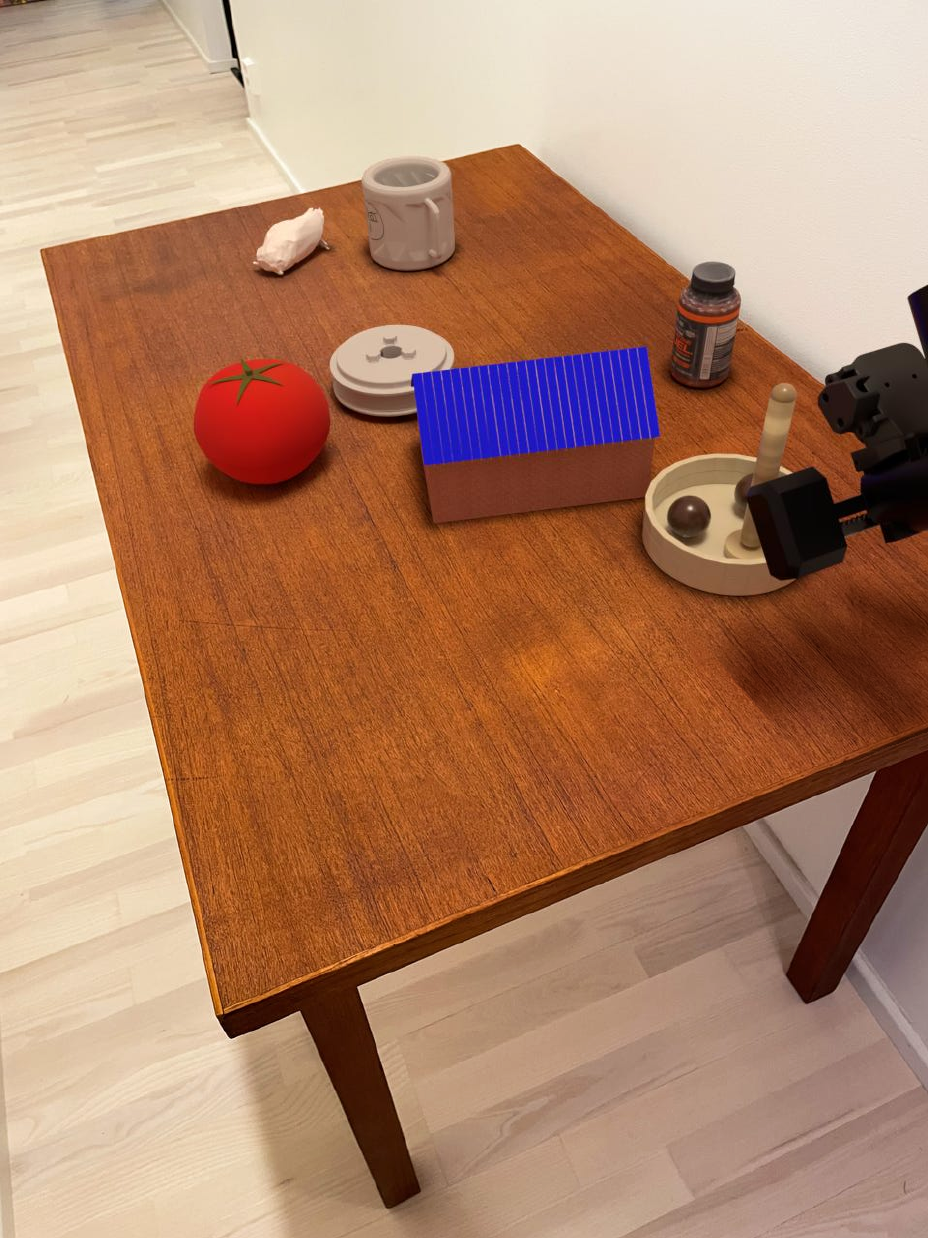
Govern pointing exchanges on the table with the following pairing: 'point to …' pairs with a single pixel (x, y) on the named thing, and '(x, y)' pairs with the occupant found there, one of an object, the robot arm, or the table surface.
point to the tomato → (261, 420)
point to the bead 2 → (743, 491)
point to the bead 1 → (688, 517)
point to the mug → (409, 212)
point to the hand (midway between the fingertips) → (812, 510)
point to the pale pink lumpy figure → (291, 241)
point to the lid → (386, 368)
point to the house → (536, 433)
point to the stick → (764, 468)
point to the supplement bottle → (706, 326)
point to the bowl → (705, 554)
